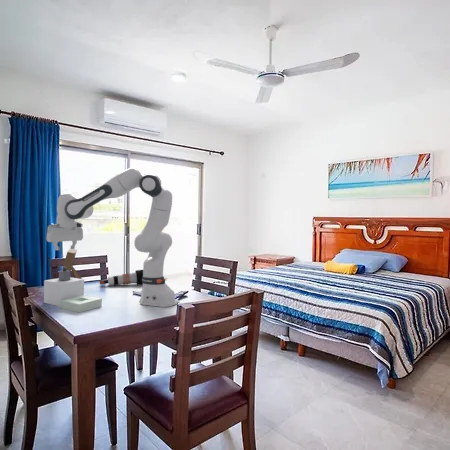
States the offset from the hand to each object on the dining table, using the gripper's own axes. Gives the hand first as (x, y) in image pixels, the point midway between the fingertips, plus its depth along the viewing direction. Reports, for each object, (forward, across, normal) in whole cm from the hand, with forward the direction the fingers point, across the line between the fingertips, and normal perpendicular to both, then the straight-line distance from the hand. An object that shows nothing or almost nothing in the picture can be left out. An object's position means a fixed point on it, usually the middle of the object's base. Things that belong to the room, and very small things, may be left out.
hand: (65, 249), depth 183 cm
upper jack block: (+29, 0, 0) cm, 29 cm away
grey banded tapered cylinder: (+29, +52, +5) cm, 60 cm away
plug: (+20, 0, 0) cm, 20 cm away
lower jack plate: (+28, -2, -16) cm, 33 cm away
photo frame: (+29, +23, +24) cm, 44 cm away
